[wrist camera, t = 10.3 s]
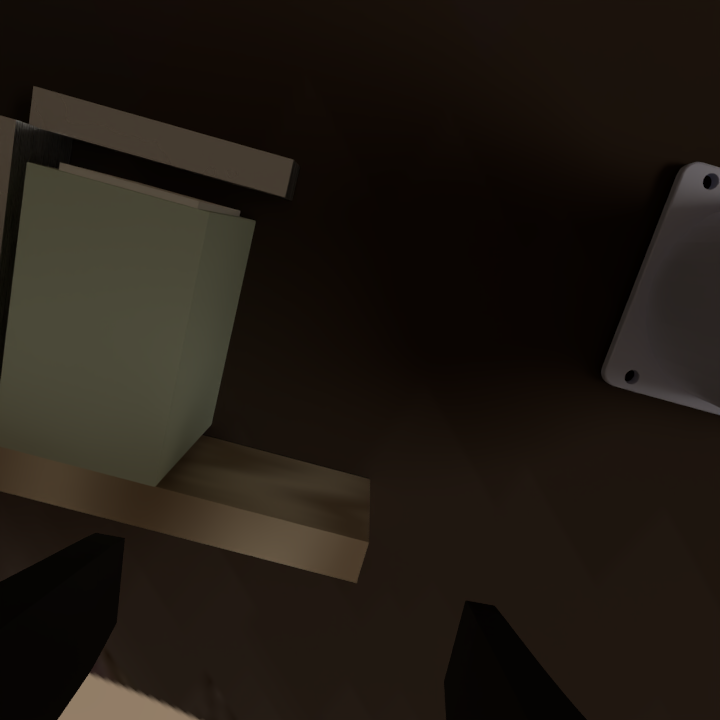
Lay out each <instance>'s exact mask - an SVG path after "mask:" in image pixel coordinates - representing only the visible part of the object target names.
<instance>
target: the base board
mask: <svg viewBox="0 0 720 720" xmlns="http://www.w3.org/2000/svg"><path fill="white" fill-rule="evenodd" d="M0 491H2V492H6V493H10V494H14V495H18V496H21V497H25V498H29V499H33V500H37V501H41V502H45V503H49V504H52V505H56V506H60V507H64V508H68V509H72V510H76V511H80V512H83V513H87V514H91V515H95V516H99V517H103V518H107V519H111V520H114V521H118V522H122V523H126V524H130V525H134V526H138V527H141V528H145V529H149V530H153V531H157V532H161V533H165V534H169V535H172V536H176V537H180V538H184V539H188V540H192V541H196V542H200V543H203V544H207V545H211V546H215V547H219V548H223V549H227V550H231V551H234V552H238V553H242V554H246V555H250V556H254V557H258V558H262V559H265V560H269V561H273V562H277V563H281V564H285V565H289V566H293V567H296V568H300V569H304V570H308V571H312V572H316V573H320V574H324V575H327V576H331V577H335V578H339V579H343V580H347V581H351V582H355V583H356V582H357V579H358V576H359V572H360V569H361V566H362V563H363V560H364V556H365V553H366V550H367V547H368V543H369V506H370V479H367V478H363V477H360V476H356V475H352V474H348V473H345V472H341V471H337V470H333V469H329V468H326V467H322V466H318V465H314V464H311V463H307V462H303V461H299V460H296V459H292V458H288V457H284V456H280V455H277V454H273V453H269V452H265V451H262V450H258V449H254V448H250V447H246V446H243V445H239V444H235V443H231V442H228V441H224V440H220V439H216V438H212V437H209V436H205V435H201V437H200V438H199V439H198V440H197V441H196V442H195V443H194V444H193V445H192V447H191V448H190V449H189V450H188V451H187V452H186V453H185V454H184V455H183V456H182V458H181V459H180V460H179V461H178V462H177V463H176V464H175V465H174V466H173V468H172V469H171V470H170V471H169V472H168V473H167V474H166V475H165V476H164V477H163V479H162V480H161V481H160V482H159V483H158V484H157V485H156V486H155V487H153V486H149V485H145V484H141V483H138V482H134V481H130V480H126V479H122V478H118V477H115V476H111V475H107V474H103V473H99V472H95V471H92V470H88V469H84V468H80V467H76V466H72V465H69V464H65V463H61V462H57V461H53V460H49V459H46V458H42V457H38V456H34V455H30V454H26V453H23V452H19V451H15V450H11V449H7V448H3V447H0Z"/></svg>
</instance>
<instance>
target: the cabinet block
mask: <svg viewBox="0 0 720 720" xmlns="http://www.w3.org/2000/svg"><path fill="white" fill-rule="evenodd" d="M255 223H256V221H254V220H251V219H247V218H244V217H240V211H239V210H236V209H232V208H229V207H225V206H221V205H218V204H214V203H211V202H207V201H203V200H200V199H196V198H193V197H189V196H185V195H182V194H178V193H175V192H171V191H167V190H164V189H160V188H157V187H153V186H149V185H146V184H142V183H139V182H135V181H131V180H127V179H123V178H119V177H116V176H112V175H108V174H104V173H100V172H96V171H92V170H88V169H84V168H80V167H76V166H72V165H68V164H64V163H60V165H59V169H56V168H52V167H47V166H43V165H39V164H34V163H30V162H27V166H26V174H25V182H24V190H23V199H22V207H21V215H20V224H19V232H18V240H17V248H16V257H15V265H14V273H13V282H12V290H11V298H10V306H9V315H8V323H7V331H6V340H5V348H4V356H3V364H2V373H1V381H0V447H3V448H7V449H11V450H15V451H19V452H23V453H26V454H30V455H34V456H38V457H42V458H46V459H49V460H53V461H57V462H61V463H65V464H69V465H72V466H76V467H80V468H84V469H88V470H92V471H95V472H99V473H103V474H107V475H111V476H115V477H118V478H122V479H126V480H130V481H134V482H138V483H141V484H145V485H149V486H153V487H155V486H156V485H157V484H158V483H159V482H160V481H161V480H162V479H163V477H164V476H165V475H166V474H167V473H168V472H169V471H170V470H171V469H172V468H173V466H174V465H175V464H176V463H177V462H178V461H179V460H180V459H181V458H182V456H183V455H184V454H185V453H186V452H187V451H188V450H189V449H190V448H191V447H192V445H193V444H194V443H195V442H196V441H197V440H198V439H199V438H200V437H201V435H202V434H203V433H204V432H205V431H206V430H207V429H208V428H209V427H210V425H211V424H212V419H213V415H214V410H215V406H216V401H217V396H218V392H219V387H220V383H221V378H222V374H223V369H224V365H225V360H226V355H227V351H228V346H229V342H230V337H231V333H232V328H233V323H234V319H235V314H236V310H237V305H238V301H239V296H240V292H241V287H242V282H243V278H244V273H245V269H246V264H247V260H248V255H249V251H250V246H251V241H252V237H253V232H254V228H255Z"/></svg>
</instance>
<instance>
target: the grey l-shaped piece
mask: <svg viewBox="0 0 720 720" xmlns="http://www.w3.org/2000/svg"><path fill="white" fill-rule="evenodd" d="M73 140H77V141H80V142H84V143H88V144H91V145H95V146H98V147H102V148H105V149H109V150H112V151H116V152H120V153H123V154H127V155H130V156H134V157H137V158H141V159H145V160H148V161H152V162H155V163H159V164H162V165H166V166H169V167H173V168H177V169H180V170H184V171H187V172H191V173H194V174H198V175H201V176H205V177H209V178H212V179H216V180H219V181H223V182H226V183H230V184H234V185H237V186H241V187H244V188H248V189H251V190H255V191H258V192H262V193H266V194H269V195H273V196H276V197H280V198H283V199H287V200H290V201H292V199H293V195H294V191H295V186H296V182H297V178H298V173H299V169H300V166H299V165H298V164H297V163H296V162H295V161H294V160H293V159H289V158H286V157H282V156H279V155H275V154H271V153H268V152H264V151H261V150H257V149H254V148H250V147H247V146H243V145H240V144H236V143H233V142H229V141H226V140H222V139H219V138H215V137H212V136H208V135H204V134H201V133H197V132H194V131H190V130H187V129H183V128H180V127H176V126H173V125H169V124H166V123H162V122H159V121H155V120H152V119H148V118H144V117H141V116H137V115H134V114H130V113H127V112H123V111H120V110H116V109H113V108H109V107H106V106H102V105H99V104H95V103H92V102H88V101H85V100H81V99H77V98H74V97H70V96H67V95H63V94H60V93H56V92H53V91H49V90H46V89H42V88H39V87H35V86H33V95H32V103H31V111H30V119H29V124H27V123H24V122H21V121H18V120H15V119H11V118H8V117H4V116H0V381H1V373H2V364H3V356H4V348H5V340H6V331H7V323H8V315H9V306H10V298H11V290H12V282H13V273H14V265H15V257H16V248H17V240H18V232H19V224H20V215H21V207H22V199H23V190H24V182H25V174H26V166H27V162H30V163H34V164H39V165H43V166H47V167H52V168H56V169H59V165H60V163H64V164H68V165H70V159H71V152H72V145H73Z"/></svg>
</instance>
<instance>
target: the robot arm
mask: <svg viewBox="0 0 720 720" xmlns="http://www.w3.org/2000/svg"><path fill="white" fill-rule="evenodd" d="M706 175H708V176H709V177H710V178H711V180H712V182H711V186H710V187H709V189H706V188H704V186H703V179H704V178H705V176H706ZM630 370H633V371H634V377H633V378H632V380H630V381H625V375H626V373H627V372H628V371H630ZM601 375H602V378H603V379H604V381H605V382H607V383H608V384H610V385H612V386H615V387H619V388H622V389H626V390H630V391H633V392H637V393H641V394H644V395H648V396H652V397H655V398H659V399H663V400H666V401H670V402H673V403H677V404H681V405H684V406H688V407H692V408H695V409H699V410H703V411H706V412H710V413H713V414H717V415H720V167H716V166H713V165H709V164H706V163H703V162H694V163H690V164H687V165H685V166H683V167H682V168H681V169H680V170H679V172H678V173H677V175H676V178H675V180H674V183H673V185H672V188H671V191H670V193H669V196H668V198H667V201H666V204H665V206H664V209H663V211H662V214H661V216H660V219H659V222H658V224H657V227H656V229H655V232H654V234H653V237H652V240H651V242H650V245H649V247H648V250H647V253H646V255H645V258H644V260H643V263H642V265H641V268H640V271H639V273H638V276H637V278H636V281H635V283H634V286H633V289H632V291H631V294H630V296H629V299H628V302H627V304H626V307H625V309H624V312H623V314H622V317H621V320H620V322H619V325H618V327H617V330H616V332H615V335H614V338H613V340H612V343H611V345H610V348H609V350H608V353H607V356H606V358H605V361H604V363H603V366H602V370H601ZM124 540H125V538H121V537H115V536H110V535H104V534H99V533H95V534H92V535H90V536H88V537H86V538H84V539H82V540H80V541H78V542H76V543H74V544H72V545H70V546H68V547H66V548H65V549H63V550H61V551H59V552H57V553H55V554H53V555H51V556H49V557H48V558H46V559H44V560H42V561H40V562H38V563H36V564H34V565H32V566H30V567H28V568H26V569H24V570H22V571H20V572H19V573H17V574H15V575H13V576H11V577H9V578H7V579H5V580H3V581H1V582H0V720H57V719H58V718H59V717H60V715H61V714H62V712H63V711H64V709H65V708H66V706H67V705H68V704H69V702H70V701H71V699H72V698H73V696H74V695H75V693H76V692H77V690H78V689H79V688H80V686H81V684H82V683H83V682H84V680H85V679H86V677H87V676H88V674H89V673H90V671H91V669H92V668H93V666H94V664H95V662H96V660H97V659H98V657H99V655H100V653H101V651H102V649H103V648H104V646H105V644H106V642H107V640H108V638H109V636H110V634H111V632H112V630H113V628H114V627H115V625H116V623H117V613H118V603H119V592H120V582H121V571H122V561H123V551H124ZM444 689H445V706H446V720H587V719H586V718H585V717H584V716H583V715H582V714H581V713H580V712H579V711H578V709H577V708H576V707H575V706H574V705H573V704H572V702H571V701H570V700H569V699H568V698H567V697H566V695H565V694H564V693H563V692H562V691H561V689H560V688H559V687H558V686H557V685H556V683H555V682H554V681H553V680H552V678H551V677H550V676H549V675H548V674H547V672H546V671H545V670H544V669H543V667H542V666H541V665H540V664H539V662H538V661H537V660H536V658H535V657H534V656H533V655H532V653H531V652H530V651H529V649H528V648H527V647H526V646H525V644H524V643H523V642H522V640H521V639H520V638H519V637H518V635H517V634H516V633H515V631H514V630H513V629H512V627H511V626H510V625H509V623H508V622H507V621H506V620H505V618H504V617H503V616H502V615H501V613H500V612H499V611H498V610H497V608H496V607H495V606H493V605H487V604H482V603H476V602H471V601H465V605H464V609H463V613H462V616H461V620H460V624H459V628H458V631H457V635H456V639H455V643H454V646H453V650H452V654H451V658H450V661H449V665H448V669H447V673H446V676H445V680H444Z"/></svg>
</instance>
